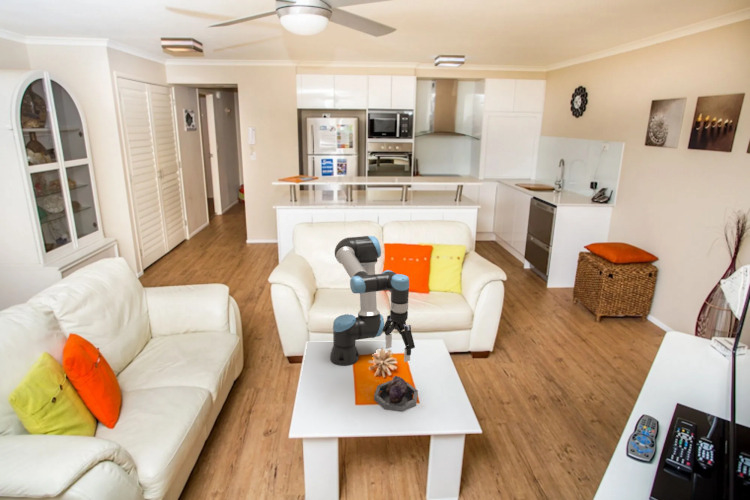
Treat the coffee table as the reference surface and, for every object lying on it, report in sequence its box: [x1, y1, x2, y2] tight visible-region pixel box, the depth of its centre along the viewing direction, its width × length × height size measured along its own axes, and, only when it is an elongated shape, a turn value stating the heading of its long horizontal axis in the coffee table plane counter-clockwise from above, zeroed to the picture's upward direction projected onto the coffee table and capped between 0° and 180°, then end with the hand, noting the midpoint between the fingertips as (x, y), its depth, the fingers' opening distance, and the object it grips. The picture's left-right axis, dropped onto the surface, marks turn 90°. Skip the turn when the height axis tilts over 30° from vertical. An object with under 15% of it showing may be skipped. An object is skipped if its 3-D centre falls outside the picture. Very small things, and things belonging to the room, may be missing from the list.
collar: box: [373, 380, 419, 412], centre depth 203 cm, size 19×19×2 cm
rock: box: [386, 375, 408, 404], centre depth 201 cm, size 12×9×10 cm
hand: (397, 354), depth 197 cm, fingers open, 13 cm apart
